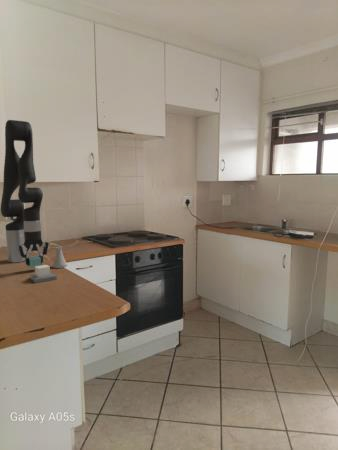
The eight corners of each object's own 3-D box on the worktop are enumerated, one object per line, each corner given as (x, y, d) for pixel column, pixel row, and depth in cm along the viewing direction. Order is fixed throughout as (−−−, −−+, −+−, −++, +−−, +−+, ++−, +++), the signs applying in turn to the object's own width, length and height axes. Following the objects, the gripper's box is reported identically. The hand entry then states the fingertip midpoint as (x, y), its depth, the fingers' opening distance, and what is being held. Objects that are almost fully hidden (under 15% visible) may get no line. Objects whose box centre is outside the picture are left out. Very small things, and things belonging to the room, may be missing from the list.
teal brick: (28, 265, 158) (27, 257, 157) (38, 263, 161) (38, 255, 160) (30, 267, 154) (29, 259, 153) (41, 265, 157) (40, 257, 156)
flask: (52, 265, 167) (51, 246, 165) (67, 264, 169) (66, 245, 168) (52, 269, 160) (51, 249, 159) (67, 267, 162) (66, 248, 161)
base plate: (29, 278, 145) (29, 274, 145) (50, 274, 150) (49, 271, 150) (35, 283, 138) (35, 279, 138) (56, 279, 143) (56, 275, 143)
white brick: (35, 275, 144) (34, 266, 144) (46, 273, 147) (46, 264, 147) (38, 277, 140) (38, 268, 140) (50, 275, 143) (49, 266, 143)
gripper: (45, 227, 162) (47, 260, 165) (14, 230, 153) (16, 265, 156) (50, 229, 156) (52, 263, 159) (18, 232, 148) (20, 268, 150)
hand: (34, 264), depth 157 cm, fingers closed on teal brick, 5 cm apart
